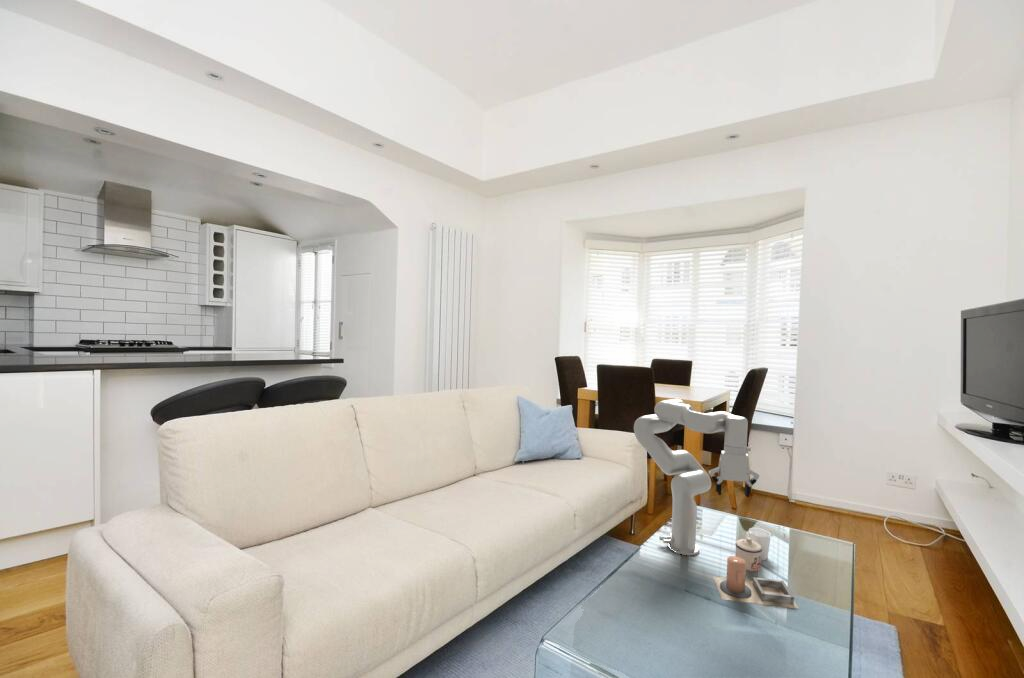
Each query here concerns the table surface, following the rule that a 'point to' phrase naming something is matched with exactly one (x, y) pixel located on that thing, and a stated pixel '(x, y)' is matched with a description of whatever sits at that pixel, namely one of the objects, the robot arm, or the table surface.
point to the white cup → (761, 540)
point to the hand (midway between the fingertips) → (732, 494)
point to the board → (759, 592)
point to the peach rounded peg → (736, 574)
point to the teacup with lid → (749, 553)
